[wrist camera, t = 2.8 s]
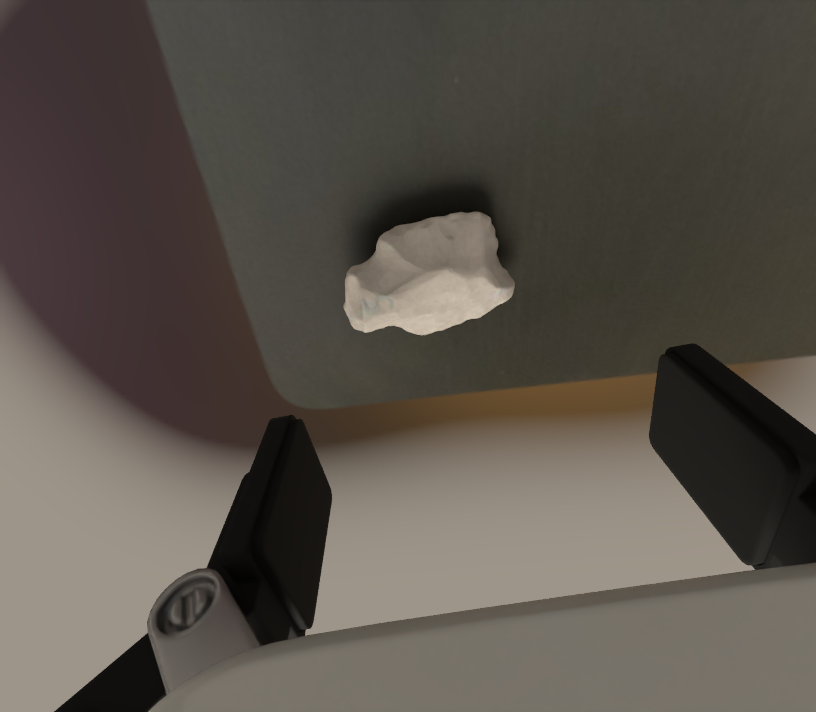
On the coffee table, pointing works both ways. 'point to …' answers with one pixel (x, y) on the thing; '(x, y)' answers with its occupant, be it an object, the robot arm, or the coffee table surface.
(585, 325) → the coffee table surface
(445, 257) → the decorative stone
